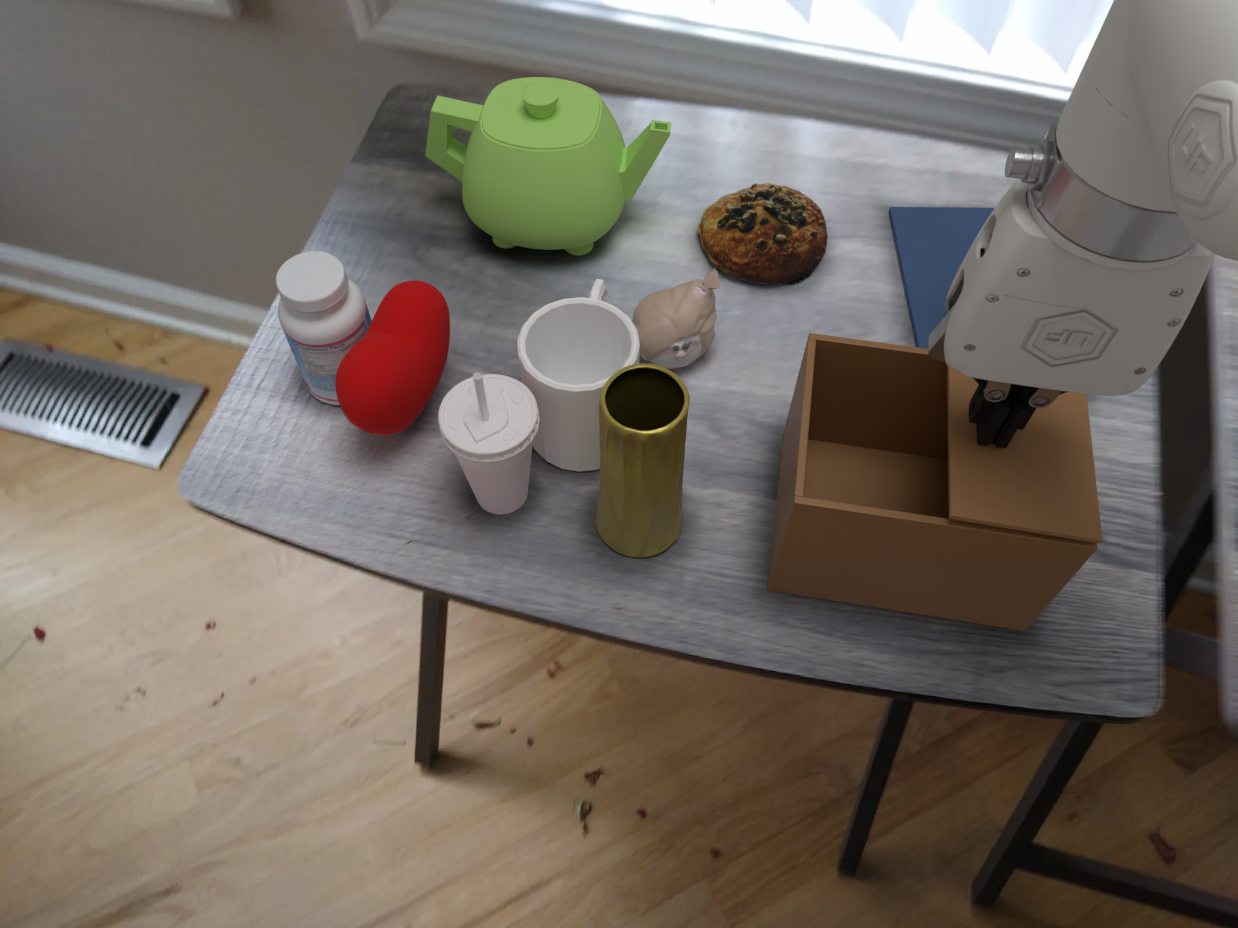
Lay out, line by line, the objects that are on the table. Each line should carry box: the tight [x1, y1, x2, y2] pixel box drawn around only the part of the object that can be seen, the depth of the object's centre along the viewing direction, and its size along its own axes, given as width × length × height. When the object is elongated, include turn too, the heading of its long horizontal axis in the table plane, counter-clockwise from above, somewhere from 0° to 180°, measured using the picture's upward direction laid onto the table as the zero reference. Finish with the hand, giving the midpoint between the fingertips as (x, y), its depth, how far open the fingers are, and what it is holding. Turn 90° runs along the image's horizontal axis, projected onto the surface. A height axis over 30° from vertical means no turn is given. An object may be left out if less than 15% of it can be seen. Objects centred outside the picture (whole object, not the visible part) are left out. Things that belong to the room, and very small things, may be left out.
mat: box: [888, 206, 995, 349], centre depth 80 cm, size 20×12×1 cm, turn 0°
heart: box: [335, 279, 451, 436], centre depth 70 cm, size 12×5×10 cm, turn 160°
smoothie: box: [437, 372, 540, 516], centre depth 64 cm, size 6×6×14 cm
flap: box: [947, 366, 1103, 544], centre depth 58 cm, size 8×13×1 cm, turn 170°
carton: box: [767, 332, 1099, 632], centre depth 64 cm, size 17×13×12 cm
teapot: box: [424, 76, 672, 256], centre depth 80 cm, size 20×13×13 cm
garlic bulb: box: [631, 268, 720, 369], centre depth 74 cm, size 7×6×8 cm
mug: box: [516, 278, 641, 473], centre depth 70 cm, size 8×12×10 cm
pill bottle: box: [275, 250, 372, 406], centre depth 71 cm, size 6×6×11 cm
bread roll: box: [697, 182, 828, 286], centre depth 83 cm, size 11×11×5 cm
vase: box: [594, 362, 691, 558], centre depth 63 cm, size 6×6×14 cm
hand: (990, 426), depth 58 cm, fingers closed
